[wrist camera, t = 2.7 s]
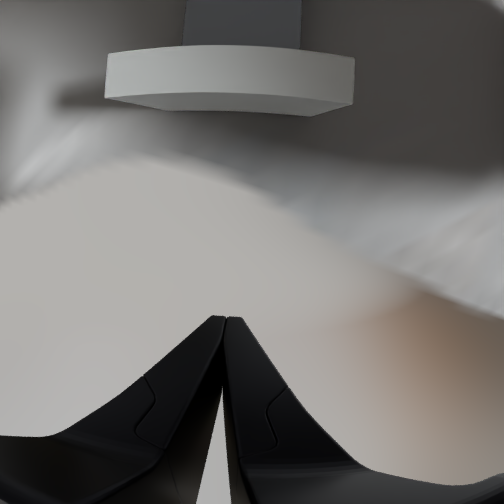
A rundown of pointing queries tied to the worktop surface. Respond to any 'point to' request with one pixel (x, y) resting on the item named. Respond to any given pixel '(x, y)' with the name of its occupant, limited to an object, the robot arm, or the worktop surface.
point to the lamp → (234, 64)
